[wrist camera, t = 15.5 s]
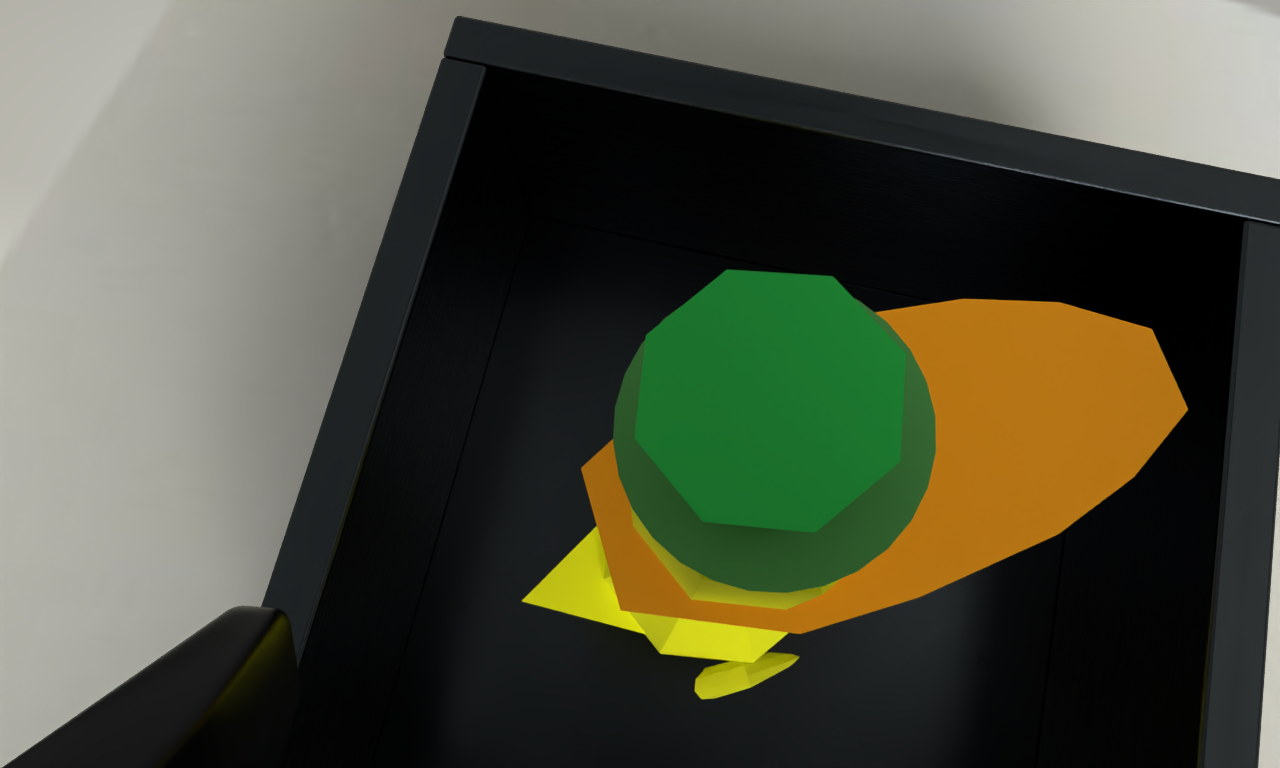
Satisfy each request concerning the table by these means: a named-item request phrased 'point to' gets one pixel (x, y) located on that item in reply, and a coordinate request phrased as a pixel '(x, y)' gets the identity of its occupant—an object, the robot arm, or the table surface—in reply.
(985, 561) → the toy figure
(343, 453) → the open black box
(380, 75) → the table surface
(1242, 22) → the table surface
